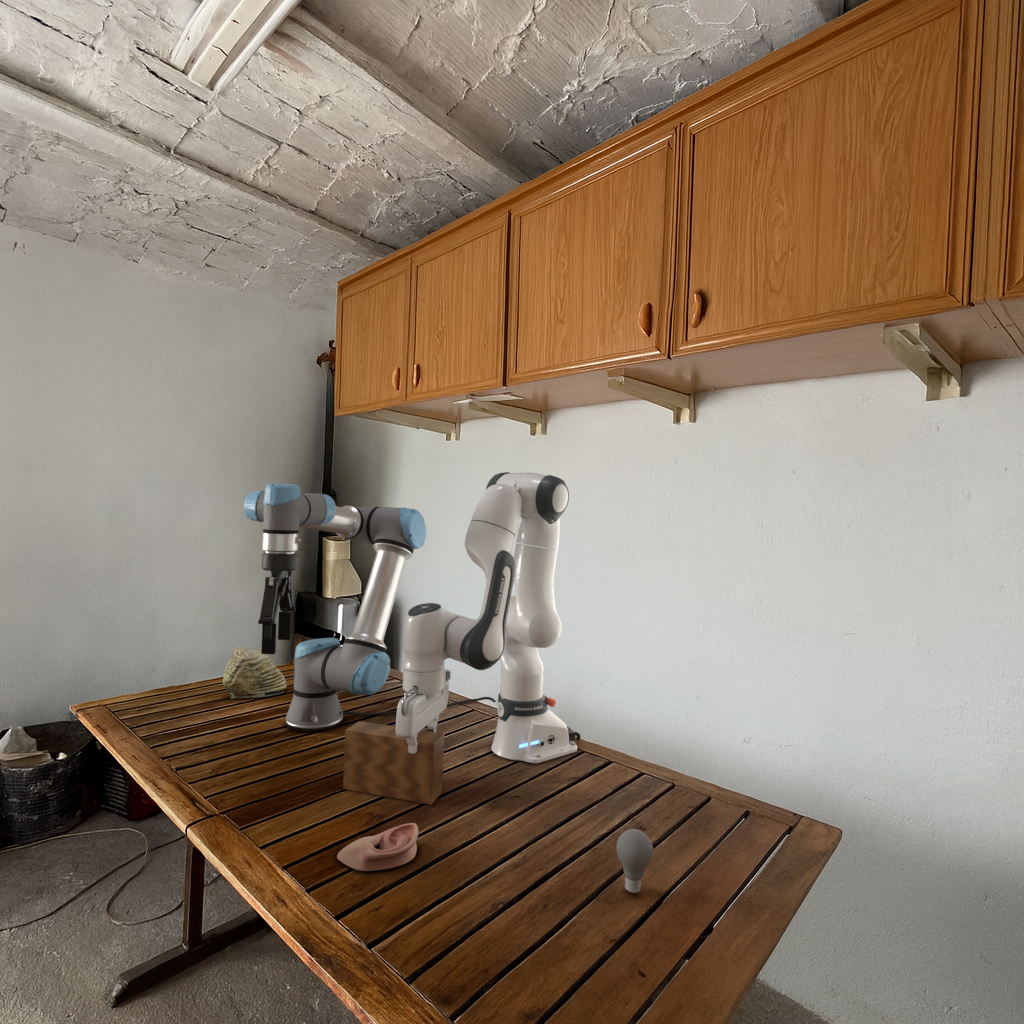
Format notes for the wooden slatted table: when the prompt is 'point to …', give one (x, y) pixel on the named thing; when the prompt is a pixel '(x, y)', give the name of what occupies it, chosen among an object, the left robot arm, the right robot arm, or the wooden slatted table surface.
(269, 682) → the fossil
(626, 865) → the light bulb
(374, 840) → the anatomical model
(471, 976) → the wooden slatted table surface
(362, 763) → the box
